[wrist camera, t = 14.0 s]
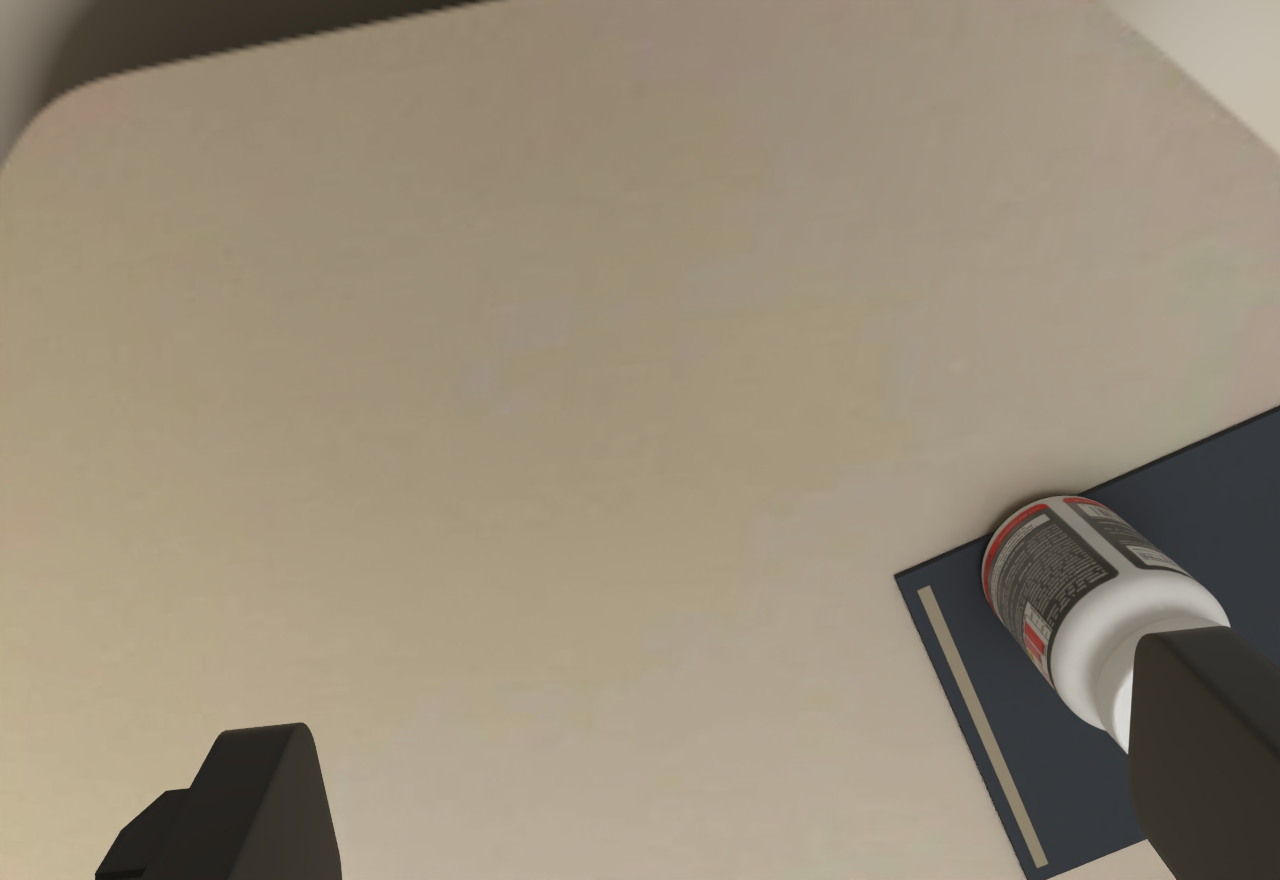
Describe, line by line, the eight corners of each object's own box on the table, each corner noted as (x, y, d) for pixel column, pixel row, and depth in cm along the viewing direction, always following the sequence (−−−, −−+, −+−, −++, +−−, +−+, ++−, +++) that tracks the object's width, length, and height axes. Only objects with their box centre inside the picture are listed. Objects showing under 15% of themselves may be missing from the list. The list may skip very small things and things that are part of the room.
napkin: (893, 575, 42) (896, 579, 41) (1300, 396, 40) (1305, 399, 40) (1027, 881, 47) (1030, 887, 46) (1393, 732, 45) (1399, 737, 45)
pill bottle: (992, 645, 42) (1108, 811, 33) (963, 516, 41) (1077, 653, 31) (1138, 603, 42) (1297, 758, 33) (1114, 471, 40) (1276, 595, 31)
